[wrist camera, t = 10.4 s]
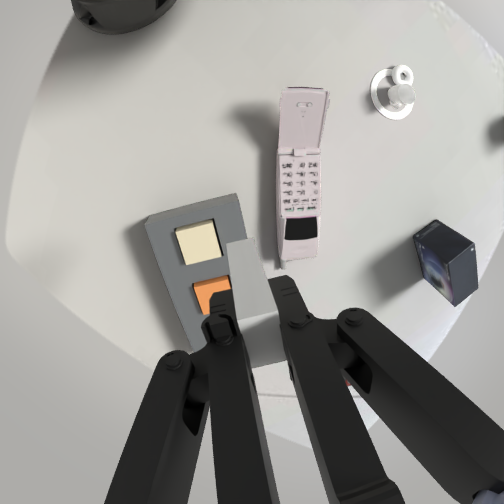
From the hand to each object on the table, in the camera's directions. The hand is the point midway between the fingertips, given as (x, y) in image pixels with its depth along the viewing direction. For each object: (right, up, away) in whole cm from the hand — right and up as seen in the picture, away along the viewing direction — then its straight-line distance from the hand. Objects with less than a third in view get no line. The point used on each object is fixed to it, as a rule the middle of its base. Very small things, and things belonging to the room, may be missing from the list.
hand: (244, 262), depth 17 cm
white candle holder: (+24, +24, +20) cm, 40 cm away
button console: (-5, -4, +28) cm, 28 cm away
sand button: (-7, +3, +24) cm, 25 cm away
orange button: (-5, -4, +27) cm, 28 cm away
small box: (+33, +1, +32) cm, 45 cm away
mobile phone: (+6, +10, +24) cm, 27 cm away
